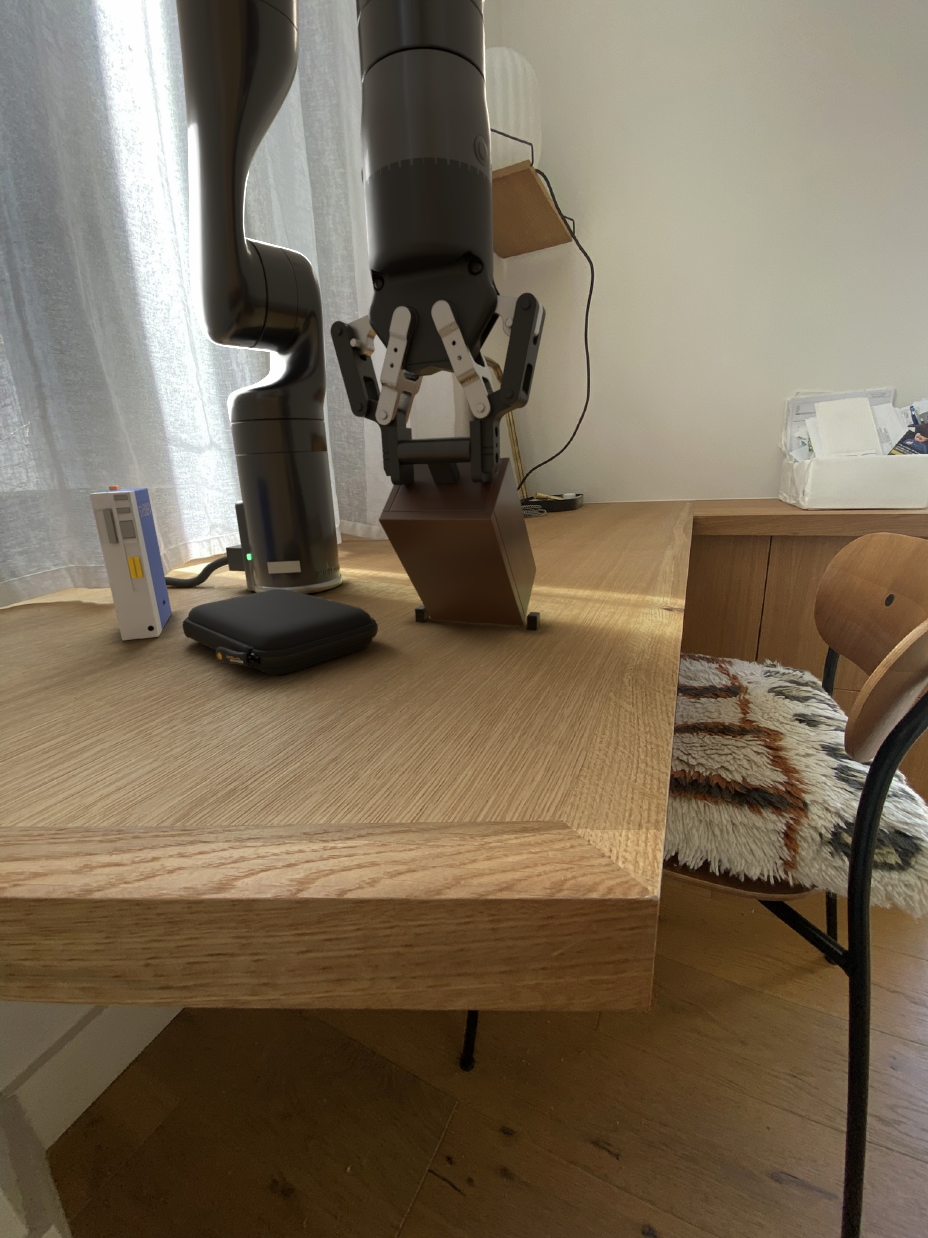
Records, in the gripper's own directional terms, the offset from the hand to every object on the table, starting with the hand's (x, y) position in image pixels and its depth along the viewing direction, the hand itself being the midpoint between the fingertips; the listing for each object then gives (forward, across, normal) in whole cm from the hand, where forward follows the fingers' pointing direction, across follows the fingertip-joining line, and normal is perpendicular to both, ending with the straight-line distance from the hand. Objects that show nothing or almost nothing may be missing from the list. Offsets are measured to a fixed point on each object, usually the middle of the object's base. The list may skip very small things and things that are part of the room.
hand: (441, 482), depth 37 cm
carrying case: (+12, +13, +3) cm, 18 cm away
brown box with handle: (+6, 0, -1) cm, 6 cm away
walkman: (+12, +28, +1) cm, 30 cm away
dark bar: (+12, 0, -6) cm, 13 cm away
